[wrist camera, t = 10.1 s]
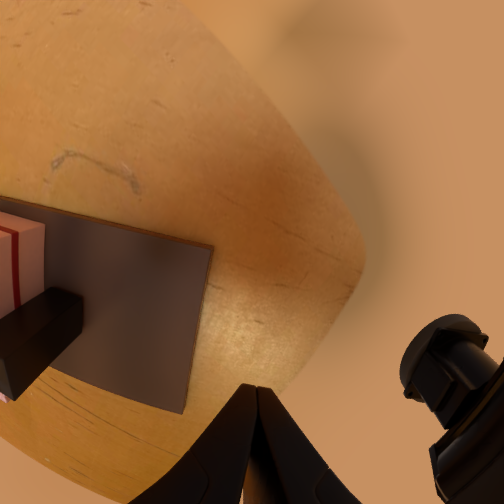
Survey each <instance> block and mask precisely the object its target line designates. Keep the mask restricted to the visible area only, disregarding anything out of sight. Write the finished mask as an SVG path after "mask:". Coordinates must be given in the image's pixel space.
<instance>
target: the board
mask: <svg viewBox="0 0 504 504" xmlns="http://www.w3.org/2000/svg"><path fill="white" fill-rule="evenodd" d="M0 212H4V213H7V214H11V215H14V216H18V217H21V218H25V219H28V220H32V221H36V222H39V223H43V224H45V239H44V291H45V290H47V289H48V288H50V287H54V288H56V289H59V290H62V291H64V292H67V293H70V294H73V295H76V296H78V297H81V298H82V333H81V334H80V335H79V336H78V337H77V338H76V339H75V340H74V341H73V342H72V343H71V344H70V345H69V346H68V347H67V348H66V349H65V350H64V351H63V352H62V353H61V354H60V355H59V356H58V357H57V358H56V359H55V360H54V361H53V362H52V363H51V364H50V365H49V366H50V367H52V368H54V369H56V370H58V371H61V372H63V373H65V374H67V375H69V376H72V377H74V378H76V379H79V380H81V381H83V382H86V383H88V384H91V385H93V386H96V387H98V388H101V389H103V390H106V391H109V392H111V393H114V394H117V395H120V396H122V397H125V398H128V399H131V400H134V401H137V402H140V403H143V404H147V405H150V406H153V407H156V408H160V409H163V410H167V411H170V412H174V413H178V414H183V411H184V408H185V403H186V396H187V390H188V384H189V378H190V372H191V366H192V360H193V354H194V348H195V343H196V337H197V331H198V326H199V321H200V315H201V310H202V304H203V299H204V294H205V289H206V284H207V279H208V274H209V269H210V264H211V259H212V254H213V249H214V247H213V246H210V245H206V244H201V243H197V242H193V241H189V240H184V239H180V238H176V237H171V236H167V235H163V234H159V233H154V232H150V231H146V230H142V229H137V228H133V227H129V226H125V225H121V224H116V223H112V222H108V221H104V220H99V219H95V218H91V217H87V216H83V215H78V214H74V213H70V212H66V211H62V210H57V209H53V208H49V207H45V206H41V205H36V204H32V203H28V202H24V201H20V200H16V199H11V198H7V197H3V196H0Z"/></svg>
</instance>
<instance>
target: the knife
mask: <svg viewBox="0 0 504 504" xmlns="http://www.w3.org/2000/svg"><path fill="white" fill-rule="evenodd" d="M81 333H82V298H81V297H78V296H76V295H73V294H70V293H67V292H64V291H62V290H59V289H56V288H54V287H50V288H48V289H47V290H45V291H43V292H42V293H40V294H39V295H37V296H35V297H34V298H32V299H30V300H29V301H27V302H26V303H24V304H23V305H21V306H19V307H18V308H16V309H15V310H13V311H12V312H10V313H9V314H7V315H6V316H4V317H2V318H1V319H0V392H1V393H2V394H4V395H5V396H7V397H8V398H10V399H11V400H13V401H16V400H17V398H18V397H19V396H20V395H21V394H22V393H23V392H24V391H25V390H26V389H27V388H28V387H29V386H30V385H31V384H32V383H33V382H34V380H35V379H36V378H37V377H38V376H39V375H40V374H41V373H42V372H43V371H44V370H45V369H46V368H47V367H48V366H49V365H50V364H51V363H52V362H53V361H54V360H55V359H56V358H57V357H58V356H59V355H60V354H61V353H62V352H63V351H64V350H65V349H66V348H67V347H68V346H69V345H70V344H71V343H72V342H73V341H74V340H75V339H76V338H77V337H78V336H79V335H80V334H81Z"/></svg>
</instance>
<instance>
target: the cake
mask: <svg viewBox="0 0 504 504" xmlns="http://www.w3.org/2000/svg"><path fill="white" fill-rule="evenodd" d="M44 239H45V224H43V223H39V222H36V221H32V220H28V219H25V218H21V217H18V216H14V215H11V214H7V213H4V212H0V319H1V318H2V317H4V316H6V315H7V314H9V313H10V312H12V311H13V310H15V309H16V308H18V307H19V306H21V305H23V304H24V303H26V302H27V301H29V300H30V299H32V298H34V297H35V296H37V295H39V294H40V293H42V292H43V291H44ZM0 399H1V400H2V401H4V402H5V403H8V402H9V401H10V400H11V399H10V398H8V397H7V396H5V395H4V394H2V393H1V392H0Z"/></svg>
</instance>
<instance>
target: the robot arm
mask: <svg viewBox="0 0 504 504" xmlns="http://www.w3.org/2000/svg"><path fill="white" fill-rule="evenodd" d="M439 333H441V334H440V335H439ZM488 339H489V337H488V336H487V335H486V334H484V333H478V332H472V331H465V330H459V329H452V328H446V327H438V328H437V329H436V330H435V331H434V333H433V335H432V337H431V339H430V342H429V344H428V346H427V348H426V350H425V352H424V354H423V356H422V358H421V360H420V362H419V364H418V366H417V368H416V370H415V372H414V374H413V376H412V377H411V379H410V381H409V383H408V385H407V387H406V388H405V390H404V396H405V397H406V398H407V399H423V400H424V401H425V403H426V405H427V406H428V407H429V409H430V411H431V412H434V414H435V415H436V417H437V419H438V420H439V422H440V423H441V425H442V427H443V428H444V429H445V430H446V429H449V430H448V431H447V432H446V433H445V434H444V435H443V436H442V437H441V438H440V439H439V440H438V441H437V442H436V443H434V444H433V445H432V446H431V447H430V448H429V453H430V458H431V463H432V469H433V475H434V481H435V487H436V490H437V495H438V496H439V497H440V498H441V500H442V501H443V502H444V503H445V504H504V360H503V361H502V363H501V364H500V366H499V365H498V364H497V363H496V362H495V361H494V360H493V359H492V358H491V357H490V356H489V355H488V354H486V353H485V352H484V351H483V350H484V348H485V346H486V344H487V342H488ZM503 359H504V358H503ZM409 392H410V393H409ZM328 468H329V466H328V465H327V464H326V462H325V461H324V460H323V459H322V457H321V456H320V454H319V453H318V452H317V451H316V449H315V448H314V447H313V445H312V444H311V443H310V441H309V440H308V439H307V437H306V436H305V435H304V433H303V432H302V431H301V429H300V428H299V427H298V425H297V424H296V422H295V421H294V420H293V418H292V417H291V416H290V414H289V413H288V411H287V410H286V409H285V407H284V406H283V405H282V403H281V402H280V400H279V399H278V397H277V396H276V395H275V393H274V392H273V390H272V389H271V388H267V387H261V386H257V387H256V386H255V385H250V384H245V383H242V384H241V385H240V386H239V387H238V389H237V390H236V391H235V393H234V394H233V395H232V397H231V398H230V399H229V400H228V402H227V403H226V404H225V406H224V407H223V408H222V409H221V411H220V412H219V413H218V414H217V416H216V417H215V418H214V419H213V421H212V422H211V423H210V424H209V426H208V427H207V428H206V429H205V431H204V432H203V433H202V434H201V435H200V437H199V438H198V439H197V440H196V442H195V443H194V444H193V445H192V446H191V448H190V449H189V450H188V451H187V452H186V453H185V454H184V455H183V457H182V458H181V459H180V460H179V461H178V462H177V463H176V464H175V465H174V466H173V467H172V468H171V469H170V471H168V472H167V473H166V474H165V475H164V476H163V477H162V478H160V479H159V480H158V481H157V482H156V483H154V484H153V485H152V486H151V487H149V488H148V489H147V490H145V491H144V492H143V493H141V494H140V495H139V496H137V497H136V498H135V499H133V500H132V501H130V502H129V503H128V504H239V502H240V498H241V493H242V489H243V504H362V503H361V502H360V501H359V500H358V499H357V498H356V497H355V496H354V495H353V494H352V493H351V492H350V491H349V490H348V489H347V488H346V487H345V485H344V484H343V483H342V482H341V481H340V480H339V478H338V477H337V476H336V475H335V474H334V472H333V471H332V470H331V469H330V468H329V469H328Z"/></svg>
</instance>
